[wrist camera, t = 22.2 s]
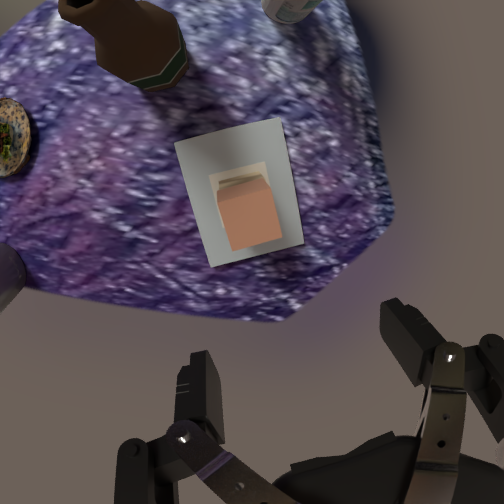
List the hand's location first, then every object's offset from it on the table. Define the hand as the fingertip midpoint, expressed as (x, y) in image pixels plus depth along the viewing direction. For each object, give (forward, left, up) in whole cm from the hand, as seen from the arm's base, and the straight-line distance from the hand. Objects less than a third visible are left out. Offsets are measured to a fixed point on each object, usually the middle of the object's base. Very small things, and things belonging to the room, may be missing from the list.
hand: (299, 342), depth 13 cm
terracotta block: (0, 0, -22) cm, 22 cm away
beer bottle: (-6, +19, -28) cm, 35 cm away
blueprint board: (0, 0, -28) cm, 28 cm away
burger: (-31, +19, -29) cm, 46 cm away
